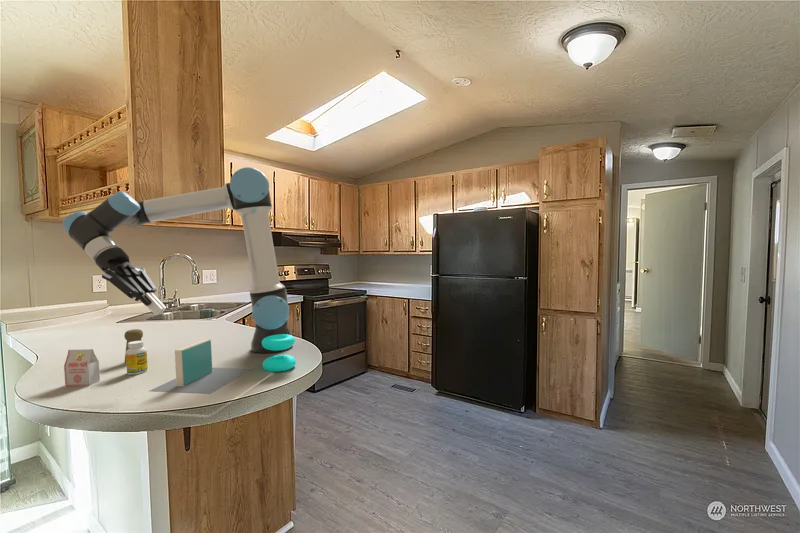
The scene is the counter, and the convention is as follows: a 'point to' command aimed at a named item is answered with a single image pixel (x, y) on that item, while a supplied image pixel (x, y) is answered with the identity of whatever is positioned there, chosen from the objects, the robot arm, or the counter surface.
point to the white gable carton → (81, 368)
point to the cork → (132, 337)
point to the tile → (193, 362)
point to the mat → (204, 382)
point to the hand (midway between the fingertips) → (161, 311)
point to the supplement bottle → (136, 358)
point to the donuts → (278, 361)
